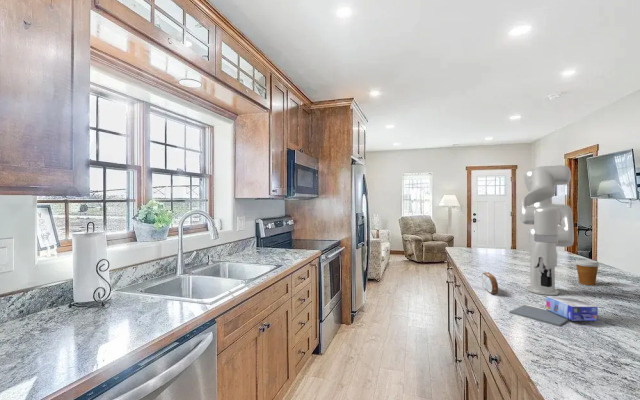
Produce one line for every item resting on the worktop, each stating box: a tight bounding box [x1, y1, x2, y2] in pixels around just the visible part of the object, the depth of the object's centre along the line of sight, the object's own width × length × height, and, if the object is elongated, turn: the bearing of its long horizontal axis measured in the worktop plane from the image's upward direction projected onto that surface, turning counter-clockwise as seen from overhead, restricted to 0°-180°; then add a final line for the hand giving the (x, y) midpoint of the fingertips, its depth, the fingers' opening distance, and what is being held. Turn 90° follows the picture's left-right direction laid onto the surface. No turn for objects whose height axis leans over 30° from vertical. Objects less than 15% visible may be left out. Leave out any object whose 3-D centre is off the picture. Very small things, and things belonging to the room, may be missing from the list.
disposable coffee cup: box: [574, 259, 600, 286], centre depth 161 cm, size 10×10×12 cm
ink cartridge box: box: [545, 296, 599, 322], centre depth 114 cm, size 10×6×14 cm
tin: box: [481, 271, 499, 295], centre depth 149 cm, size 15×3×8 cm, turn 168°
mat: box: [509, 304, 571, 327], centre depth 117 cm, size 14×16×1 cm
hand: (546, 286), depth 120 cm, fingers closed
